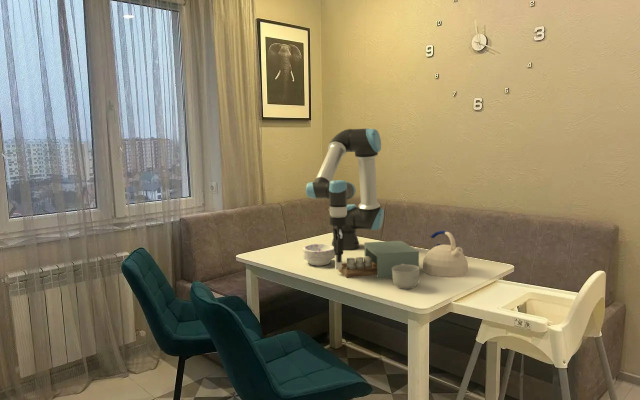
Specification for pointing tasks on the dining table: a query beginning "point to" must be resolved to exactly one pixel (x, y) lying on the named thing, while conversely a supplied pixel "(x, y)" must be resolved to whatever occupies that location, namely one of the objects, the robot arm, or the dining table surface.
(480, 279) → the dining table surface
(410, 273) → the teacup
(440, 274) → the kettle
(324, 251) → the paper bowls
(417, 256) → the sage green box
